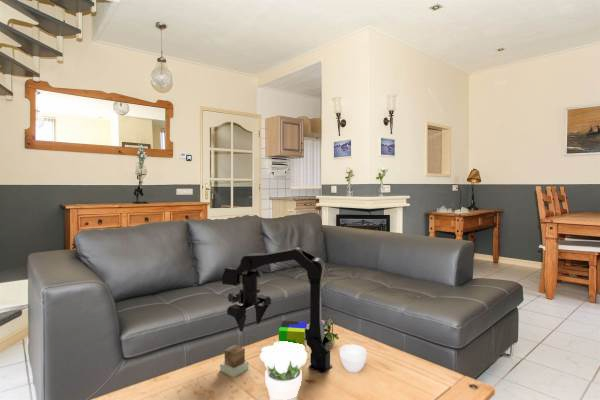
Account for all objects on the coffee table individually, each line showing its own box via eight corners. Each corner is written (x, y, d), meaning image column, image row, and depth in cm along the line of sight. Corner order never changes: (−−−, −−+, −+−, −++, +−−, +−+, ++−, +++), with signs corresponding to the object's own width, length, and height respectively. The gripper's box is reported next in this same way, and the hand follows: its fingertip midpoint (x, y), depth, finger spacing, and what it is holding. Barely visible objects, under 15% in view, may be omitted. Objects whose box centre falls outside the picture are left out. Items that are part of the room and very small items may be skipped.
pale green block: (248, 369, 131) (248, 362, 131) (233, 377, 126) (233, 370, 126) (234, 362, 136) (234, 356, 135) (220, 370, 130) (220, 363, 130)
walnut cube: (244, 362, 131) (244, 348, 131) (234, 368, 127) (234, 354, 127) (234, 358, 134) (235, 344, 134) (224, 363, 130) (224, 349, 130)
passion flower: (316, 352, 157) (314, 323, 163) (341, 349, 155) (338, 321, 162) (312, 347, 147) (309, 317, 154) (338, 344, 146) (335, 314, 152)
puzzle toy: (306, 345, 151) (306, 322, 150) (303, 357, 141) (304, 332, 141) (282, 344, 152) (282, 320, 151) (278, 355, 142) (278, 330, 142)
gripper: (251, 278, 151) (250, 315, 151) (216, 289, 135) (216, 330, 136) (272, 282, 144) (271, 321, 145) (238, 294, 129) (238, 338, 130)
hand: (249, 327), depth 139 cm, fingers open, 9 cm apart
